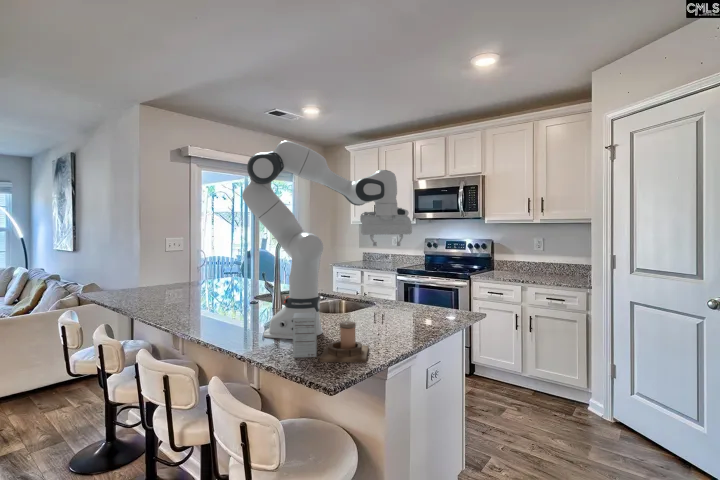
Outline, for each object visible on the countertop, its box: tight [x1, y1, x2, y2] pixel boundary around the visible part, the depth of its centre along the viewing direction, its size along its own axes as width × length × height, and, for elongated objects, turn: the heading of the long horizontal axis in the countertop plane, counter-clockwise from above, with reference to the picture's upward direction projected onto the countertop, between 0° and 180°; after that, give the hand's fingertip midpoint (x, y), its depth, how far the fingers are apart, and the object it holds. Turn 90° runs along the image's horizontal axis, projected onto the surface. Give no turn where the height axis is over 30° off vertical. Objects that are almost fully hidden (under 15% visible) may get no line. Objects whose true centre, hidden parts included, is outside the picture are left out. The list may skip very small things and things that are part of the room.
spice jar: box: [339, 321, 357, 349], centre depth 124 cm, size 5×5×9 cm
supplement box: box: [292, 313, 318, 359], centre depth 125 cm, size 7×7×13 cm
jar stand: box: [318, 340, 370, 364], centre depth 124 cm, size 14×14×3 cm
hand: (386, 246), depth 156 cm, fingers open, 8 cm apart
